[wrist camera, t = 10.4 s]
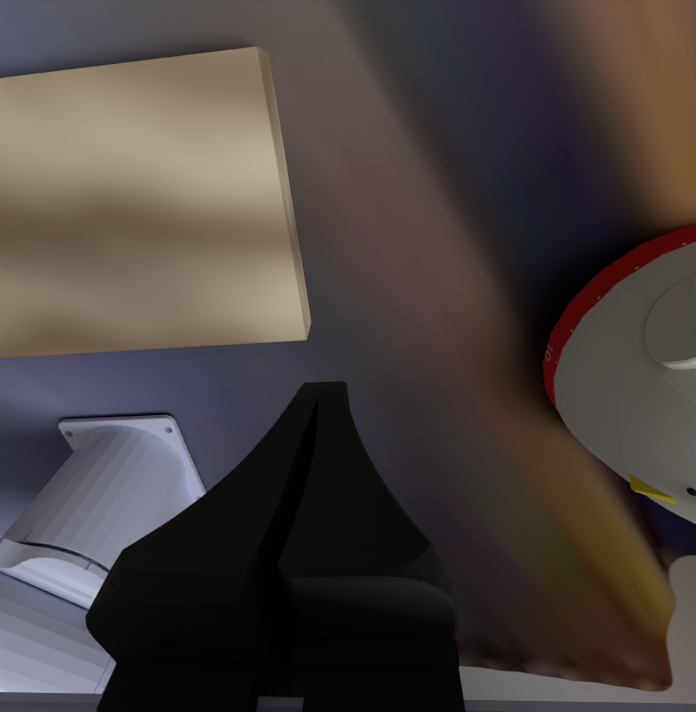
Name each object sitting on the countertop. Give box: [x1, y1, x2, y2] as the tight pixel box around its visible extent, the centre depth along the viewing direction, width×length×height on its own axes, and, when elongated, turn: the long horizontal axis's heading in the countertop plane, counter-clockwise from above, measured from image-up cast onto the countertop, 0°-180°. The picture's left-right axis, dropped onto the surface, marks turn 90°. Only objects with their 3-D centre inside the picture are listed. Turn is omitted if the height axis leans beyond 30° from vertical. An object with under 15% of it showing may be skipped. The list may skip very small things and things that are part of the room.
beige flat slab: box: [0, 47, 311, 358], centre depth 19 cm, size 12×20×2 cm, turn 95°
